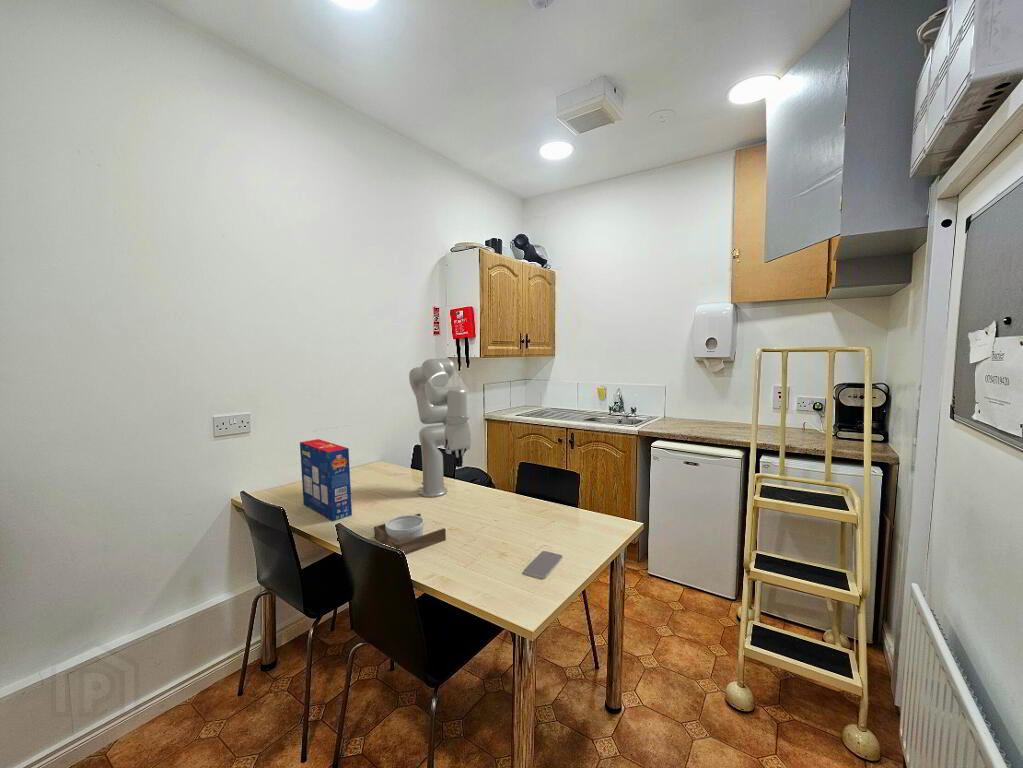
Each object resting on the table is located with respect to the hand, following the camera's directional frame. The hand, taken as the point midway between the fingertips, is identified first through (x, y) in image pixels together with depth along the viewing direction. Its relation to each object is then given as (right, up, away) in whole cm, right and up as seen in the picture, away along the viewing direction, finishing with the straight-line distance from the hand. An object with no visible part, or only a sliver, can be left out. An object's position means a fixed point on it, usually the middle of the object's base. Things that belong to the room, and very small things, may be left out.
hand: (458, 466), depth 162 cm
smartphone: (+31, -24, -34) cm, 52 cm away
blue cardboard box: (-58, -21, +13) cm, 63 cm away
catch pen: (-15, -23, -15) cm, 31 cm away
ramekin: (-16, -23, -17) cm, 33 cm away
